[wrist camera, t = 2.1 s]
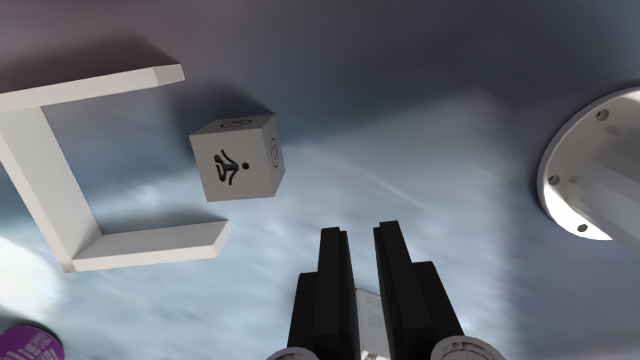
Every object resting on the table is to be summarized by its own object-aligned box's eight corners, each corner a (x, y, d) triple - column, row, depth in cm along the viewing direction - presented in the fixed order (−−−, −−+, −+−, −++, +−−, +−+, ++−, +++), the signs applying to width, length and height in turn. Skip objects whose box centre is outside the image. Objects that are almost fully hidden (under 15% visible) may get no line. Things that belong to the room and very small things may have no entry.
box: (180, 63, 24) (152, 66, 21) (232, 231, 30) (217, 257, 26) (18, 92, 26) (-35, 100, 22) (96, 246, 32) (64, 272, 28)
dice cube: (215, 119, 26) (188, 135, 21) (275, 113, 26) (261, 128, 21) (228, 176, 28) (207, 202, 23) (285, 171, 27) (274, 196, 23)
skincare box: (386, 344, 35) (397, 416, 28) (334, 327, 34) (333, 397, 27) (412, 304, 32) (431, 373, 26) (356, 286, 32) (361, 350, 25)
